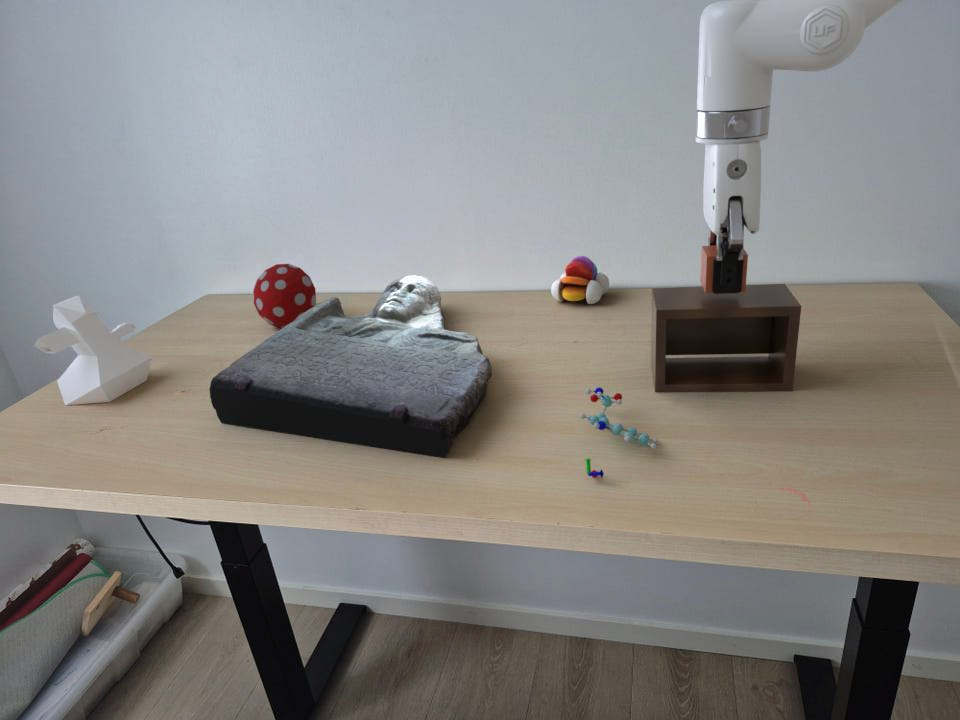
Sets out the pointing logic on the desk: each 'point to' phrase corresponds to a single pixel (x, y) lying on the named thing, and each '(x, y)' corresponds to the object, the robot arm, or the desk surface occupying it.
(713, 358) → the shelf
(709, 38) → the robot arm
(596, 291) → the rainbow toy buggy
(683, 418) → the desk surface
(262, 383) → the bust sculpture
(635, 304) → the desk surface
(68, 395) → the white animal head
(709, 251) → the box
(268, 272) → the red polka dot ball
